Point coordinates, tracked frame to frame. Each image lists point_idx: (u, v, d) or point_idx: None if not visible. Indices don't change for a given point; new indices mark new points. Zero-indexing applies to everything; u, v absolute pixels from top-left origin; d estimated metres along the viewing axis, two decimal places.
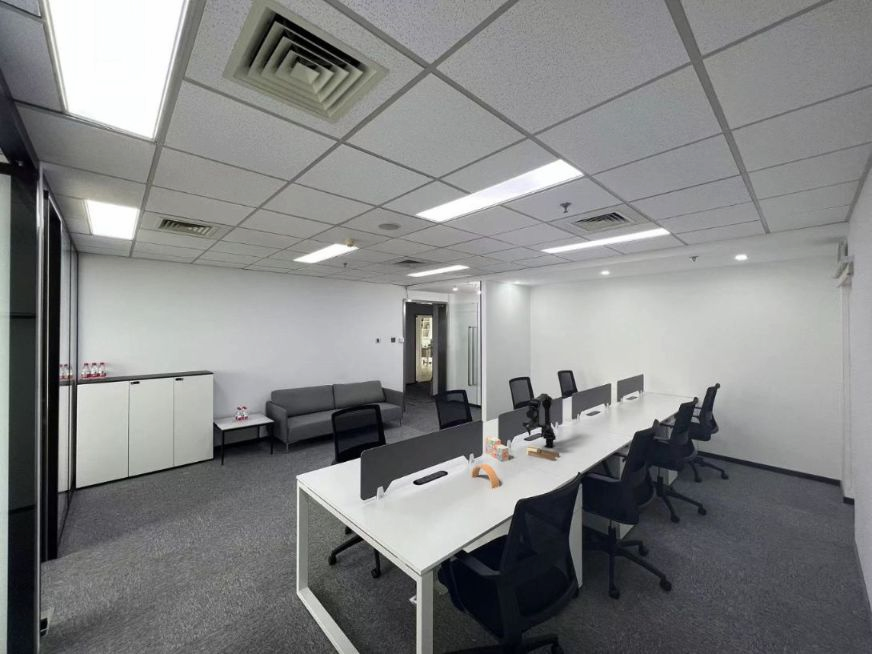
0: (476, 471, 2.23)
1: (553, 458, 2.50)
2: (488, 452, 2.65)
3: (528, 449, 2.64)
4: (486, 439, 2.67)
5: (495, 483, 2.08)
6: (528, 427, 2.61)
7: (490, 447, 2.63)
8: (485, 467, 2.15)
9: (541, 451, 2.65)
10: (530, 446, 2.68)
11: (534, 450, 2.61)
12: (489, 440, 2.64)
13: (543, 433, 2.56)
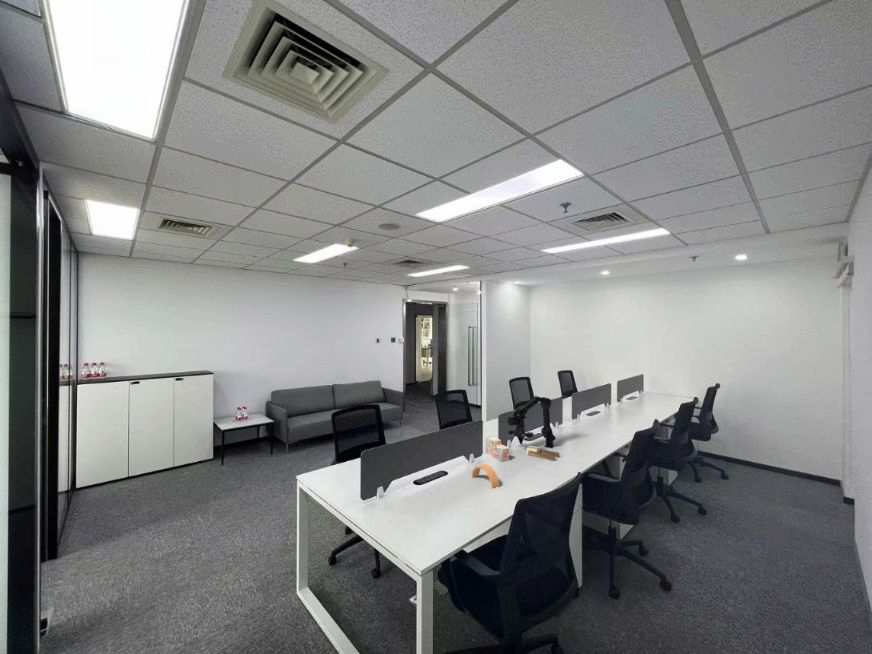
0: (476, 471, 2.23)
1: (553, 458, 2.50)
2: (488, 452, 2.65)
3: (528, 449, 2.64)
4: (486, 439, 2.67)
5: (495, 483, 2.08)
6: (519, 436, 2.71)
7: (490, 447, 2.62)
8: (485, 467, 2.14)
9: (541, 451, 2.65)
10: (530, 446, 2.68)
11: (534, 450, 2.61)
12: (489, 440, 2.63)
13: (522, 440, 2.71)
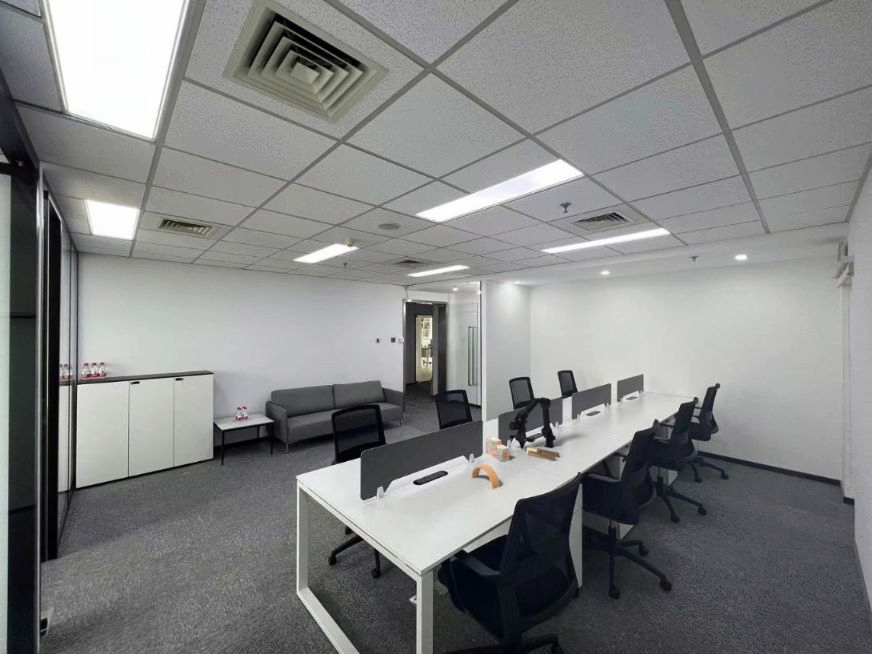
0: (476, 471, 2.22)
1: (553, 458, 2.50)
2: (489, 452, 2.65)
3: (528, 449, 2.64)
4: (487, 439, 2.67)
5: (495, 483, 2.08)
6: (520, 440, 2.70)
7: (491, 447, 2.62)
8: (485, 467, 2.14)
9: (541, 451, 2.65)
10: (530, 446, 2.68)
11: (534, 450, 2.61)
12: (490, 440, 2.63)
13: (524, 444, 2.70)
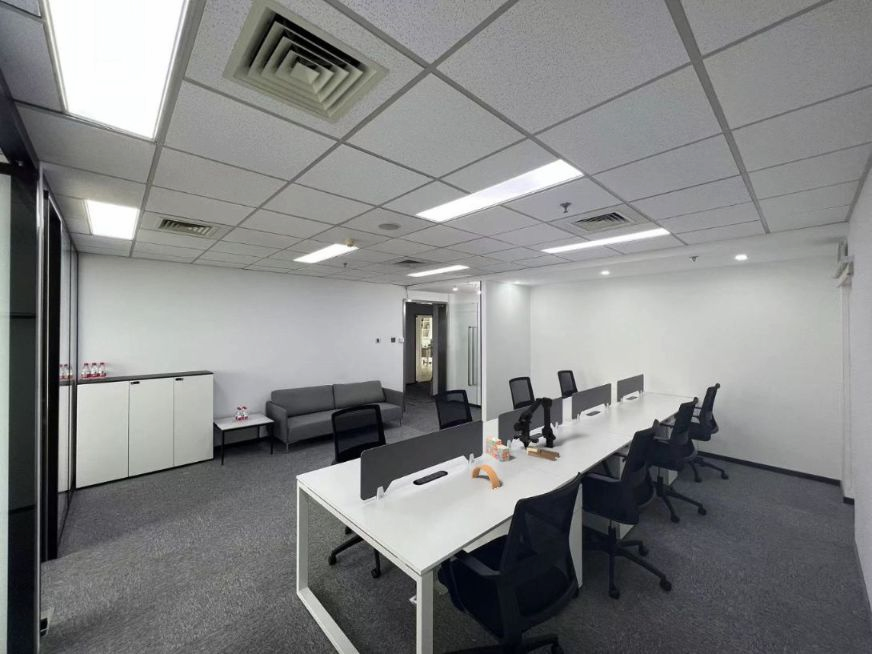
0: (476, 472, 2.22)
1: (553, 458, 2.50)
2: (489, 452, 2.65)
3: (528, 449, 2.64)
4: (487, 439, 2.67)
5: (495, 484, 2.08)
6: (524, 441, 2.68)
7: (491, 447, 2.62)
8: (485, 468, 2.14)
9: (541, 451, 2.65)
10: (530, 446, 2.68)
11: (534, 450, 2.61)
12: (490, 440, 2.63)
13: (528, 445, 2.68)
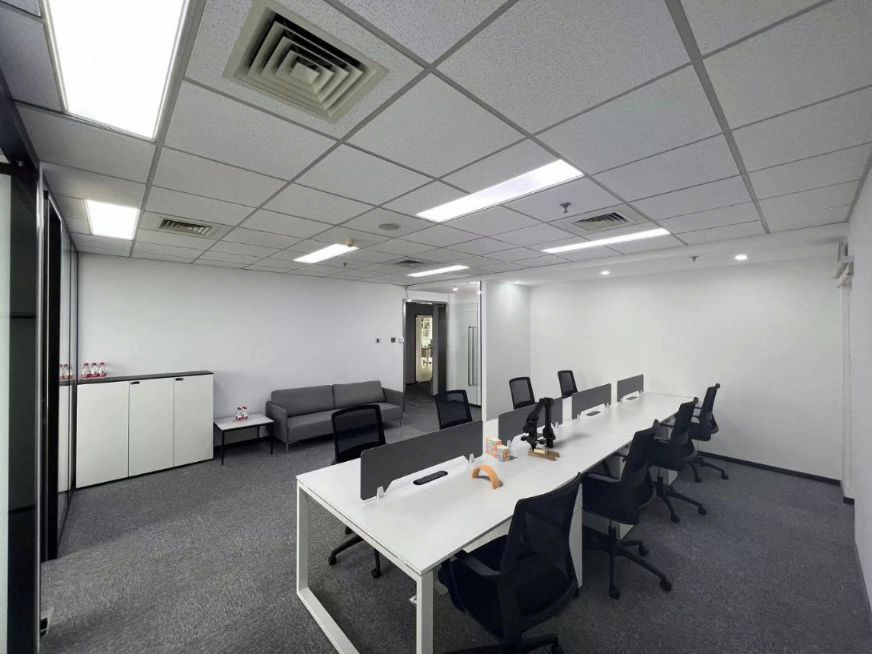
0: (476, 472, 2.22)
1: (553, 458, 2.50)
2: (489, 452, 2.64)
3: (535, 451, 2.60)
4: (487, 439, 2.67)
5: (496, 484, 2.07)
6: (531, 443, 2.64)
7: (491, 447, 2.62)
8: (486, 468, 2.14)
9: None
10: (537, 447, 2.64)
11: (542, 452, 2.58)
12: (490, 440, 2.63)
13: (535, 447, 2.64)
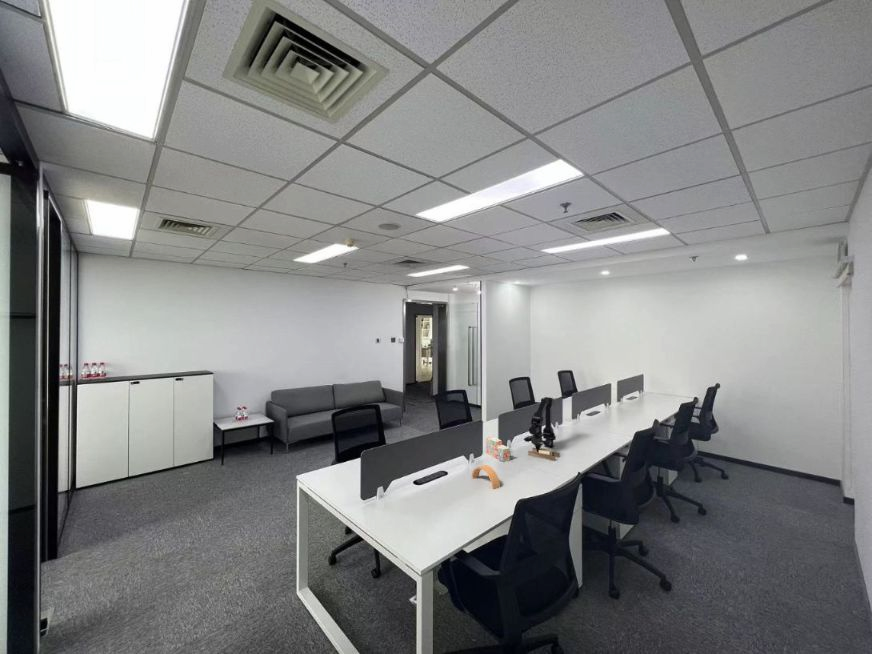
0: (476, 472, 2.22)
1: (553, 458, 2.50)
2: (489, 452, 2.64)
3: (540, 452, 2.58)
4: (487, 439, 2.66)
5: (496, 484, 2.07)
6: (536, 444, 2.62)
7: (491, 447, 2.61)
8: (486, 468, 2.13)
9: None
10: (542, 448, 2.62)
11: (547, 453, 2.55)
12: (490, 440, 2.63)
13: (540, 447, 2.62)
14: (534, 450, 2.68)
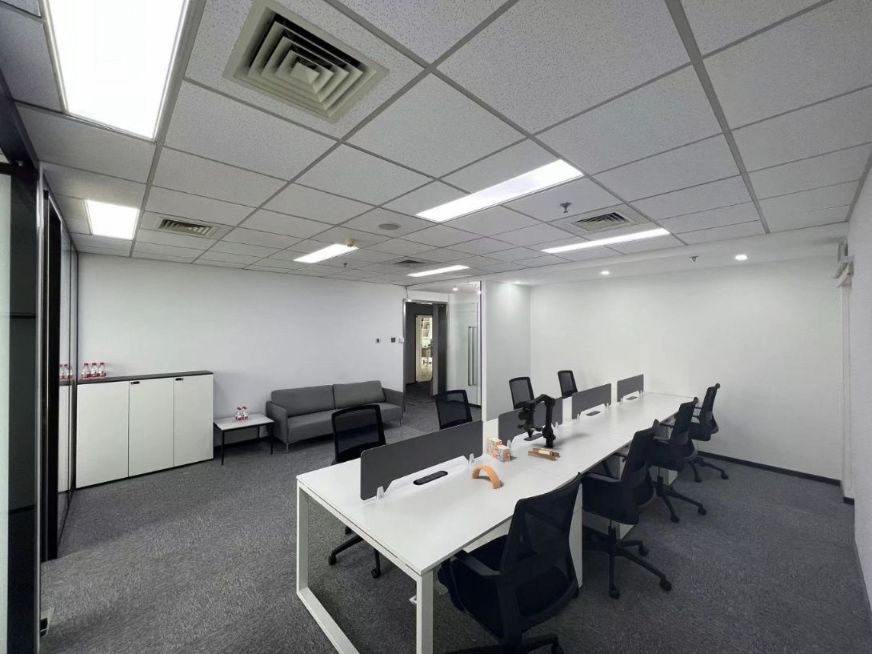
0: (476, 472, 2.21)
1: (553, 458, 2.50)
2: (489, 453, 2.64)
3: (540, 452, 2.58)
4: (487, 440, 2.66)
5: (496, 484, 2.07)
6: (528, 430, 2.67)
7: (491, 448, 2.61)
8: (486, 468, 2.13)
9: None
10: (542, 448, 2.62)
11: (547, 453, 2.55)
12: (490, 441, 2.62)
13: (532, 434, 2.67)
14: (534, 450, 2.68)
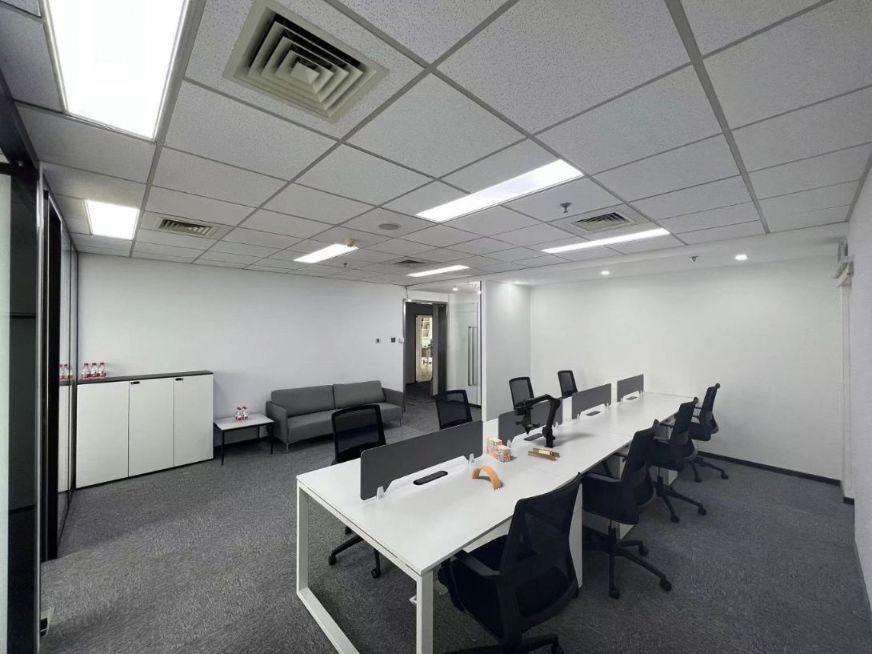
0: (476, 472, 2.21)
1: (553, 458, 2.50)
2: (489, 453, 2.63)
3: (540, 452, 2.58)
4: (487, 440, 2.66)
5: (496, 484, 2.07)
6: (526, 426, 2.77)
7: (491, 448, 2.61)
8: (486, 468, 2.13)
9: None
10: (542, 448, 2.62)
11: (547, 453, 2.55)
12: (490, 441, 2.62)
13: (529, 430, 2.77)
14: (534, 450, 2.68)
